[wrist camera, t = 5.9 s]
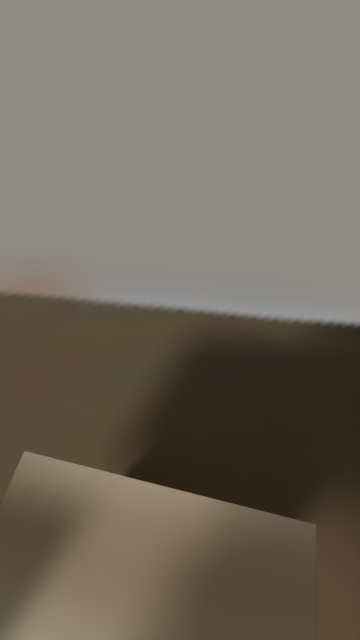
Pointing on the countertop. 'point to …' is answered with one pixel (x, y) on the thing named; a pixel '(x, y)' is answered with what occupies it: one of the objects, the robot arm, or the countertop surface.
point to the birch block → (146, 562)
